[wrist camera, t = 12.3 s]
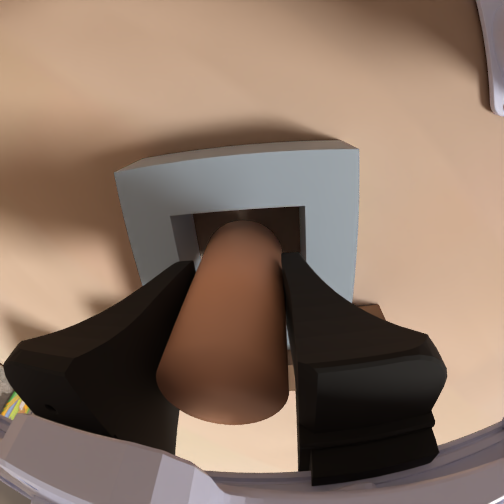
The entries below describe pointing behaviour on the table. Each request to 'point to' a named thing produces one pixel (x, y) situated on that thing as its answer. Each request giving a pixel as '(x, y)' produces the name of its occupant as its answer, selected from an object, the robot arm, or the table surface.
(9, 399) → the chalk box
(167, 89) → the table surface
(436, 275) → the table surface
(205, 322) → the dowel
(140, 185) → the block
